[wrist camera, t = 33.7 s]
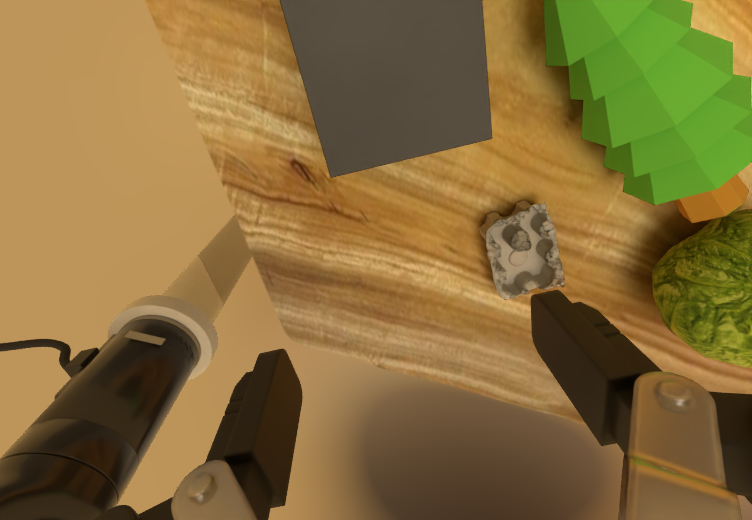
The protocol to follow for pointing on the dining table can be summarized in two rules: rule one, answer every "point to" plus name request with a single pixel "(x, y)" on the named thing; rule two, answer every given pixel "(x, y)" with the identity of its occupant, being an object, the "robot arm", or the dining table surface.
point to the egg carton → (522, 250)
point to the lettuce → (710, 289)
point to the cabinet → (391, 77)
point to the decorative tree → (657, 99)
